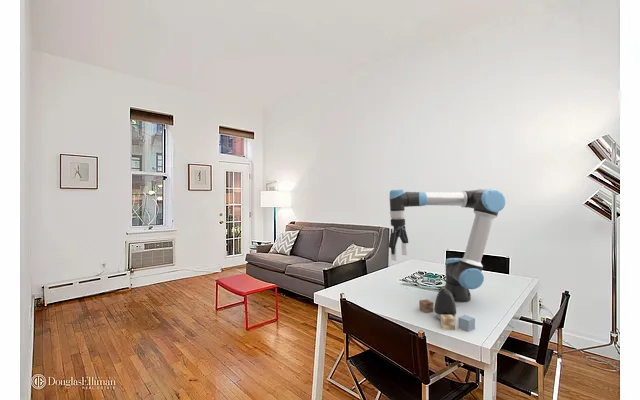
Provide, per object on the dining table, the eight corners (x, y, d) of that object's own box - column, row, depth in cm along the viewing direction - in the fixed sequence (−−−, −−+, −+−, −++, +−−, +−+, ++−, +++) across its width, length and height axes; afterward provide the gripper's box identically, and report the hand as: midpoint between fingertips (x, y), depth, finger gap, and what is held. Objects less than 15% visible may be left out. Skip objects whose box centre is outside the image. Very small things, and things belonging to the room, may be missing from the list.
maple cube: (451, 325, 149) (451, 314, 149) (454, 329, 144) (454, 319, 144) (440, 324, 149) (440, 314, 149) (443, 329, 144) (443, 318, 144)
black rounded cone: (450, 314, 161) (450, 284, 160) (460, 322, 151) (460, 291, 150) (430, 314, 161) (430, 285, 160) (439, 323, 150) (439, 292, 150)
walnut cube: (427, 308, 170) (427, 299, 169) (433, 311, 165) (433, 302, 165) (419, 309, 168) (419, 300, 168) (425, 313, 163) (425, 303, 163)
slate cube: (464, 325, 148) (464, 314, 148) (474, 328, 144) (474, 318, 144) (458, 327, 146) (458, 317, 146) (468, 331, 142) (468, 320, 141)
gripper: (400, 215, 182) (402, 252, 182) (380, 220, 162) (382, 261, 163) (413, 216, 177) (414, 253, 178) (394, 221, 157) (396, 263, 158)
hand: (399, 257), depth 170 cm, fingers open, 13 cm apart
